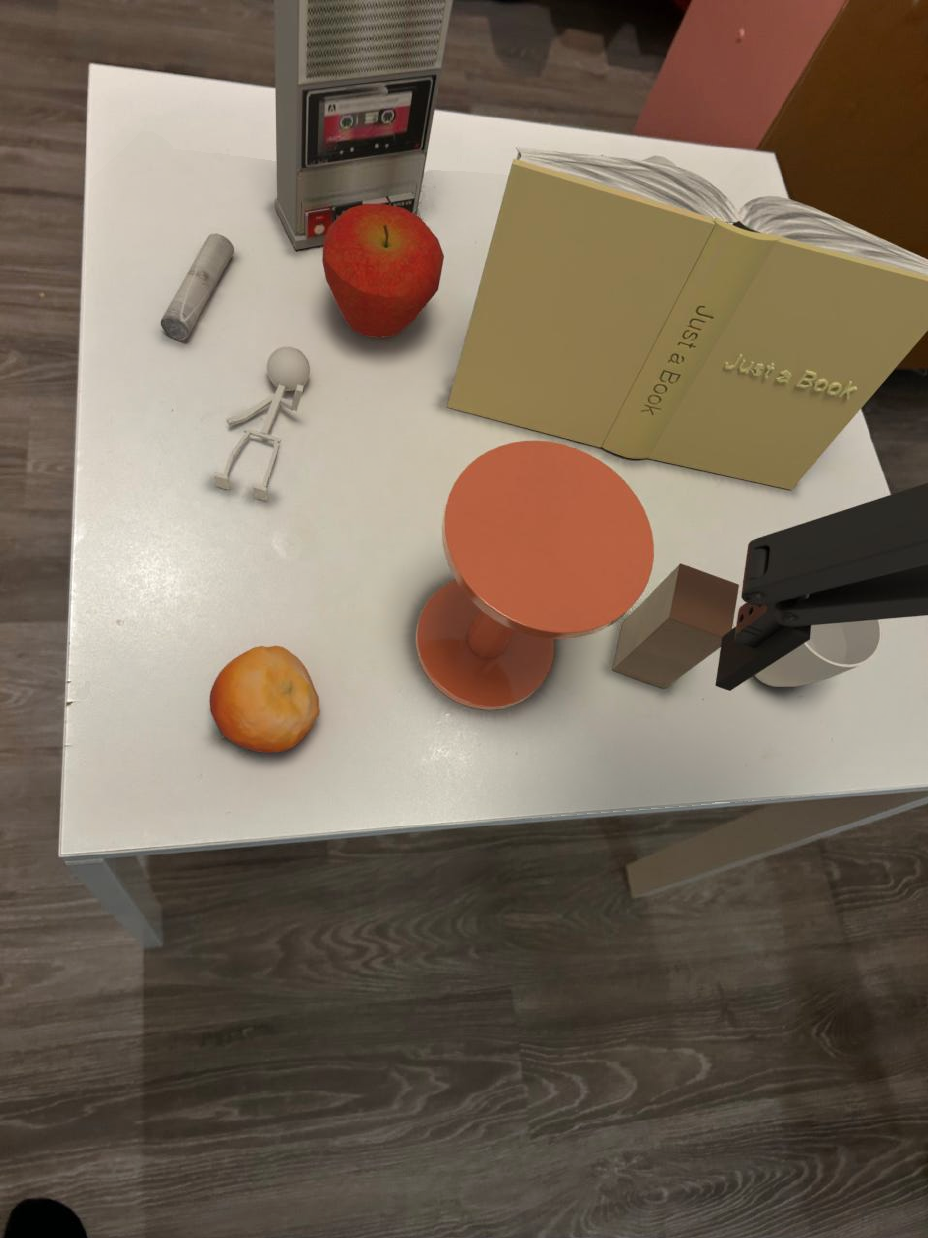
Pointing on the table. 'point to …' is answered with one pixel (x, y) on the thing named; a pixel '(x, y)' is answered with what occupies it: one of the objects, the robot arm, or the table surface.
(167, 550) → the table surface
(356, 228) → the apple
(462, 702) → the orange pedestal stand
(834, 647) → the cup
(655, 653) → the walnut block
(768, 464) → the book
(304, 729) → the fruit
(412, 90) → the cassette tape recorder
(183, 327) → the rod
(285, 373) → the figurine
